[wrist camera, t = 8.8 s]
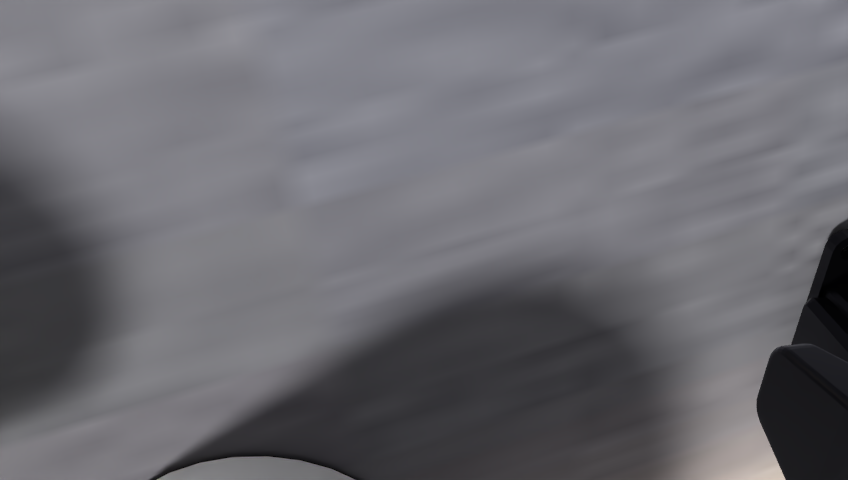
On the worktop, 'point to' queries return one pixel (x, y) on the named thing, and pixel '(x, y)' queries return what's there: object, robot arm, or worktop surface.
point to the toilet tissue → (255, 470)
